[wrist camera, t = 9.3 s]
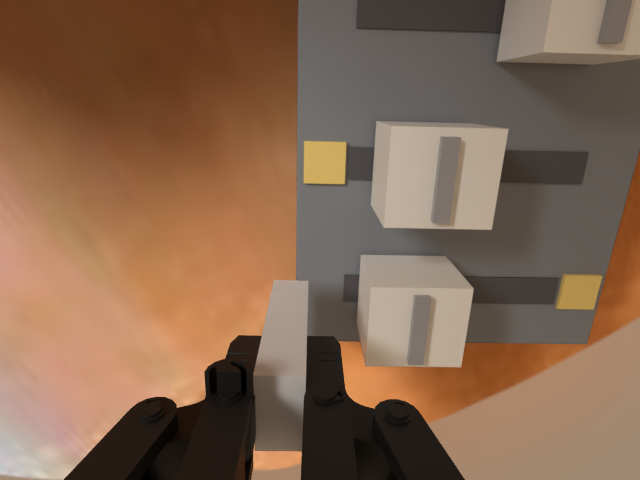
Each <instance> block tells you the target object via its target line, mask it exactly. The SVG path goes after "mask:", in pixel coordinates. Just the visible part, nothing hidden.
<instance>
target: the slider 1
mask: <svg viewBox="0 0 640 480" xmlns="http://www.w3.org/2000/svg"><path fill="white" fill-rule="evenodd" d="M508 130H509V129H506V128H499V127H493V126H486V125H479V124H472V123H438V122H398V121H376V133H375V148H374V163H373V178H372V193H371V206H372V208H373V210H374V211H375V213H376V215H377V217H378V219H379V220H380V222H381V224H382V226H383V228H421V229H476V230H492V225H493V219H494V213H495V207H496V201H497V195H498V189H499V183H500V177H501V171H502V165H503V159H504V153H505V148H506V142H507V136H508Z"/></svg>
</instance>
